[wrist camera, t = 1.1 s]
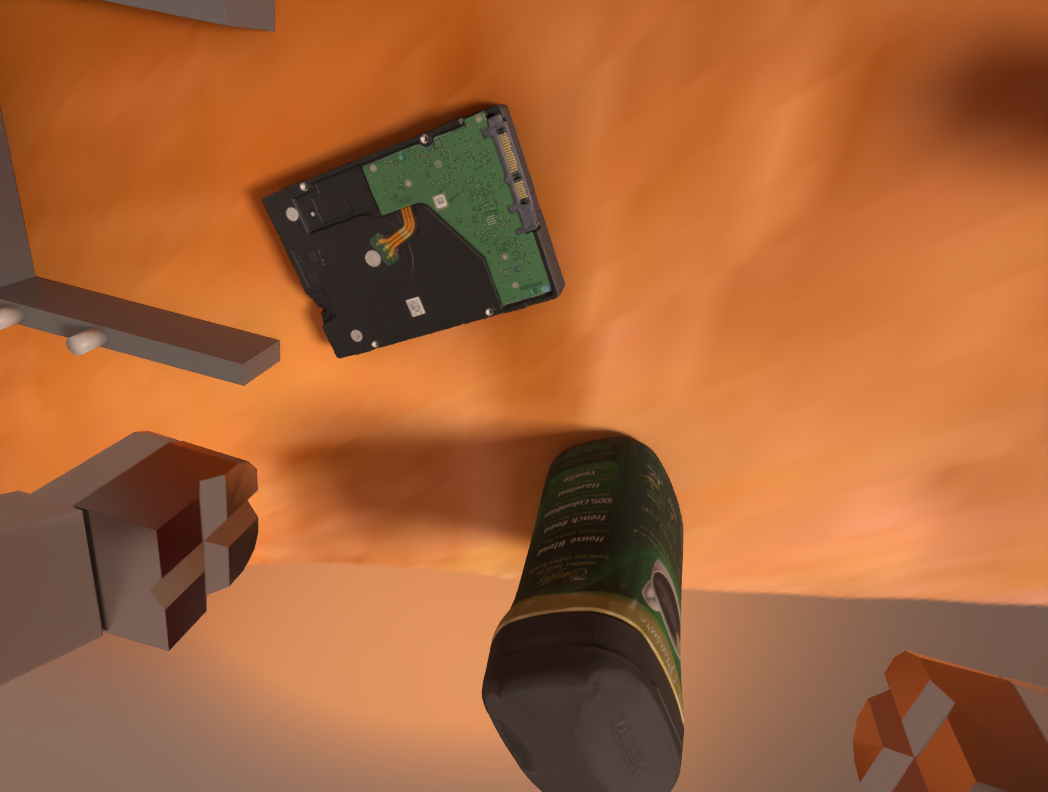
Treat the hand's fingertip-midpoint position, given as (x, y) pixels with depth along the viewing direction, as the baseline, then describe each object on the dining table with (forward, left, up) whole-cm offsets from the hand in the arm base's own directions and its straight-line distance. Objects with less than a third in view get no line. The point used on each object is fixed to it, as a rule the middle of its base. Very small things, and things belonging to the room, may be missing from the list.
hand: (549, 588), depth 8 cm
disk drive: (+5, -12, -29) cm, 32 cm away
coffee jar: (+19, +3, -29) cm, 34 cm away
